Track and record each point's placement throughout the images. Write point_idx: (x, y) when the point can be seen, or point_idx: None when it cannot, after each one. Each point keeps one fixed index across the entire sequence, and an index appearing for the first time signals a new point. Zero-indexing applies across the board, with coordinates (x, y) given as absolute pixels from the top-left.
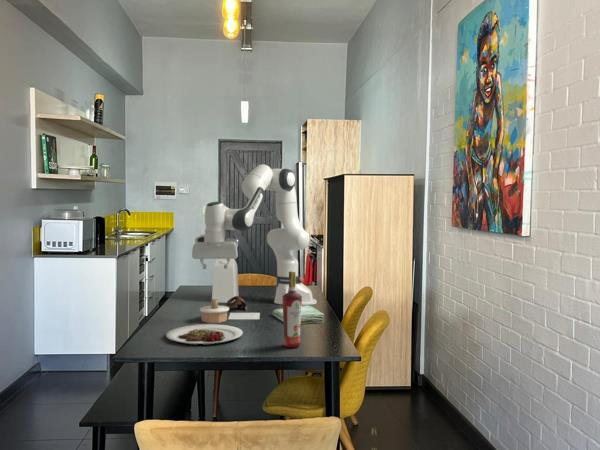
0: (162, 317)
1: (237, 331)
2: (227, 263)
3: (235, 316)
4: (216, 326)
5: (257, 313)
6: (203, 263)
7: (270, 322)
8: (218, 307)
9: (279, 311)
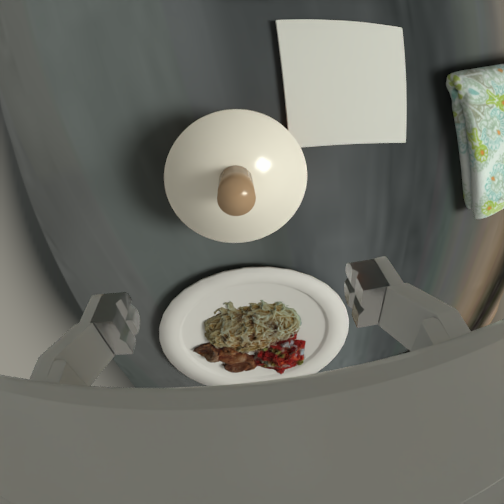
0: (29, 146)
1: (335, 313)
2: (403, 334)
3: (313, 93)
4: (269, 276)
5: (395, 39)
6: (96, 360)
7: (432, 170)
8: (251, 161)
9: (476, 136)
